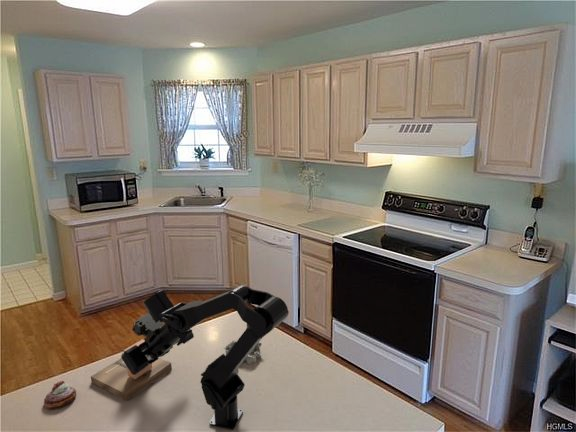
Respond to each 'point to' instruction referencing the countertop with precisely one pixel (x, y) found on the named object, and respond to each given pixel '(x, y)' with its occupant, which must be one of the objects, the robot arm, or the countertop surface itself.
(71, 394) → the pastry
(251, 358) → the egg carton
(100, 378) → the fader track
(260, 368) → the countertop surface
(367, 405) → the countertop surface
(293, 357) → the countertop surface
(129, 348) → the handle
